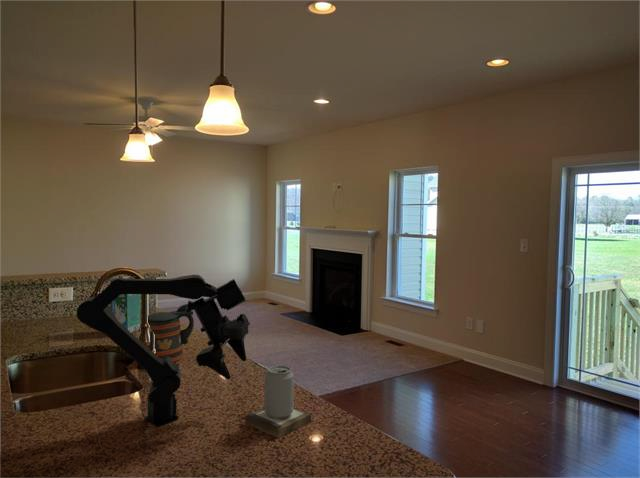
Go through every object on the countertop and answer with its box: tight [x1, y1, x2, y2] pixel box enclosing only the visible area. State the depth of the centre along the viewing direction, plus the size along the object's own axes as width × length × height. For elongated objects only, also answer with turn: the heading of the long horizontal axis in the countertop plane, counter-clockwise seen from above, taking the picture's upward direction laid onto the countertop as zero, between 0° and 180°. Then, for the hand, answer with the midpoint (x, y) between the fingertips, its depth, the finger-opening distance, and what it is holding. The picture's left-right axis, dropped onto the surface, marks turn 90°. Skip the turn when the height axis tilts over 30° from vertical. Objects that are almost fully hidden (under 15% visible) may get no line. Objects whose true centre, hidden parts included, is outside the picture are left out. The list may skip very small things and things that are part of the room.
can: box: [264, 365, 295, 419], centre depth 121 cm, size 8×8×12 cm
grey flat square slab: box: [244, 407, 312, 439], centre depth 120 cm, size 12×12×3 cm
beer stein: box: [147, 303, 195, 363], centre depth 173 cm, size 19×15×20 cm
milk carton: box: [109, 275, 141, 332], centre depth 209 cm, size 9×9×25 cm
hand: (237, 369), depth 125 cm, fingers open, 9 cm apart
